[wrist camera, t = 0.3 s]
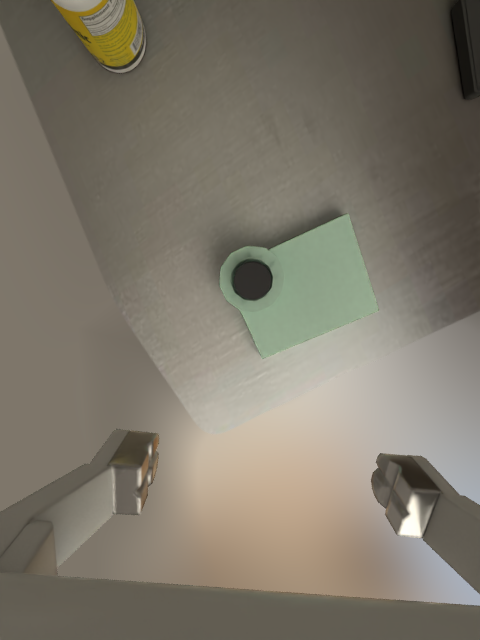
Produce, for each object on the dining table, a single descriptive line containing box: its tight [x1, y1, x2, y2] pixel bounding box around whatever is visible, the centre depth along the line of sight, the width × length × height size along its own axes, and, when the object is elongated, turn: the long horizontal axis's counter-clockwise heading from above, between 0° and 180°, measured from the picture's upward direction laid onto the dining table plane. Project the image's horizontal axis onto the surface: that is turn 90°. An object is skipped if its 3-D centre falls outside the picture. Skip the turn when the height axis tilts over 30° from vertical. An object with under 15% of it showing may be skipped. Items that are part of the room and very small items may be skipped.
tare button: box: [234, 262, 271, 300], centre depth 25 cm, size 4×4×2 cm
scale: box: [219, 213, 379, 359], centre depth 27 cm, size 12×15×3 cm
